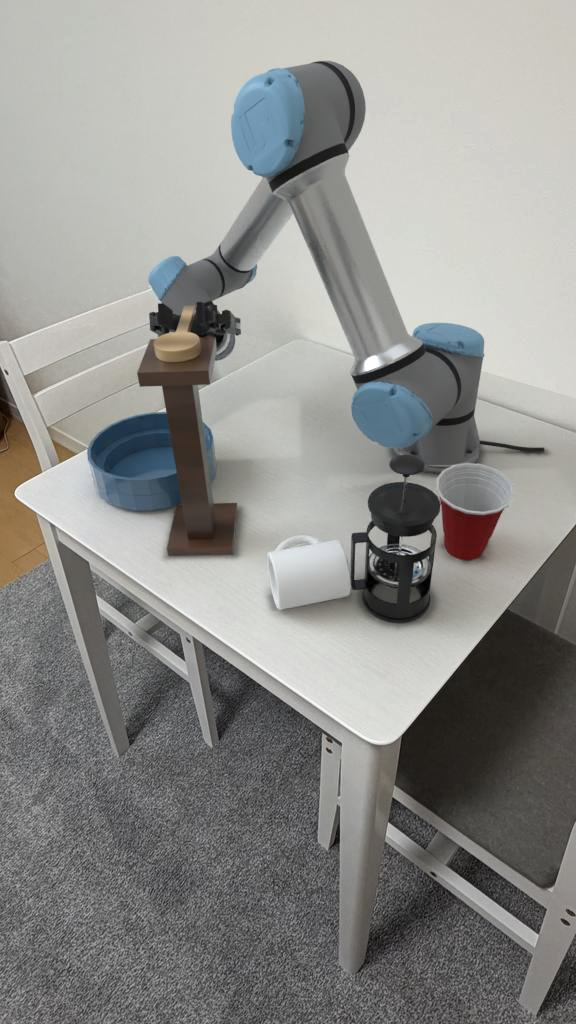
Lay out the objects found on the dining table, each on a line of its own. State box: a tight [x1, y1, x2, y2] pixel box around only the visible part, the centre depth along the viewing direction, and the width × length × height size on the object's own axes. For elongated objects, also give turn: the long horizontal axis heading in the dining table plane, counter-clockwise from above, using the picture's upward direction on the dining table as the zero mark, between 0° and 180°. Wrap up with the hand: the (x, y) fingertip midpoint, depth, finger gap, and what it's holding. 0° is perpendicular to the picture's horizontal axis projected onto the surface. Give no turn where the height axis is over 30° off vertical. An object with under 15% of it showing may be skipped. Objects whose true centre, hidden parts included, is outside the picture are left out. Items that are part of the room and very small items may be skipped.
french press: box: [349, 455, 441, 624], centre depth 88 cm, size 12×9×23 cm
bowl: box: [86, 411, 218, 512], centre depth 119 cm, size 21×21×7 cm
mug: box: [266, 534, 352, 611], centre depth 96 cm, size 12×10×8 cm
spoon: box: [154, 306, 201, 362], centre depth 94 cm, size 16×6×2 cm, turn 179°
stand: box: [136, 337, 239, 557], centre depth 99 cm, size 11×10×30 cm
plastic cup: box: [435, 463, 516, 561], centre depth 99 cm, size 11×11×12 cm
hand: (180, 313), depth 92 cm, fingers open, 4 cm apart
